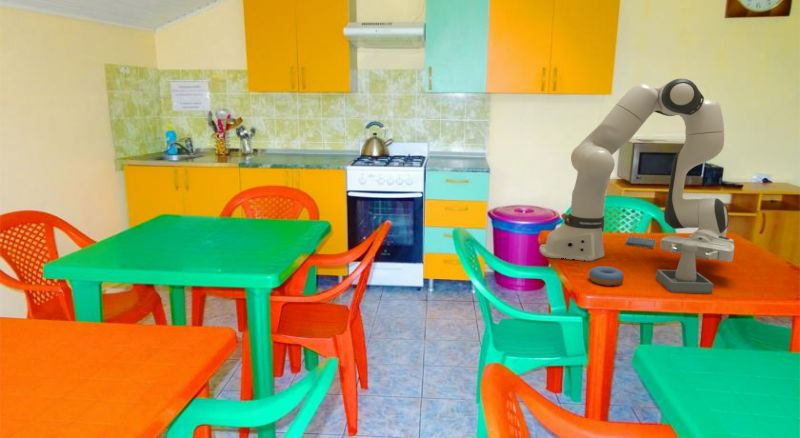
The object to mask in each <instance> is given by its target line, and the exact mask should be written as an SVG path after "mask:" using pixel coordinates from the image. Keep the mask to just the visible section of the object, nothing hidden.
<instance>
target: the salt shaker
mask: <svg viewBox="0 0 800 438" xmlns="http://www.w3.org/2000/svg"><path fill="white" fill-rule="evenodd" d="M681 248H682V250H683V252H682V253H681V256H680V259H679V261H678V265H677V268H676V269H675V270H676V273H675V278H676V281H677V282H695V281H696V278H697V277H696V271H697V263H696V262H697V261H696V257H695V252H696V251H697V249H698V245H697V244H696V243H693V242H683V243H682V247H681Z"/></svg>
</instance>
